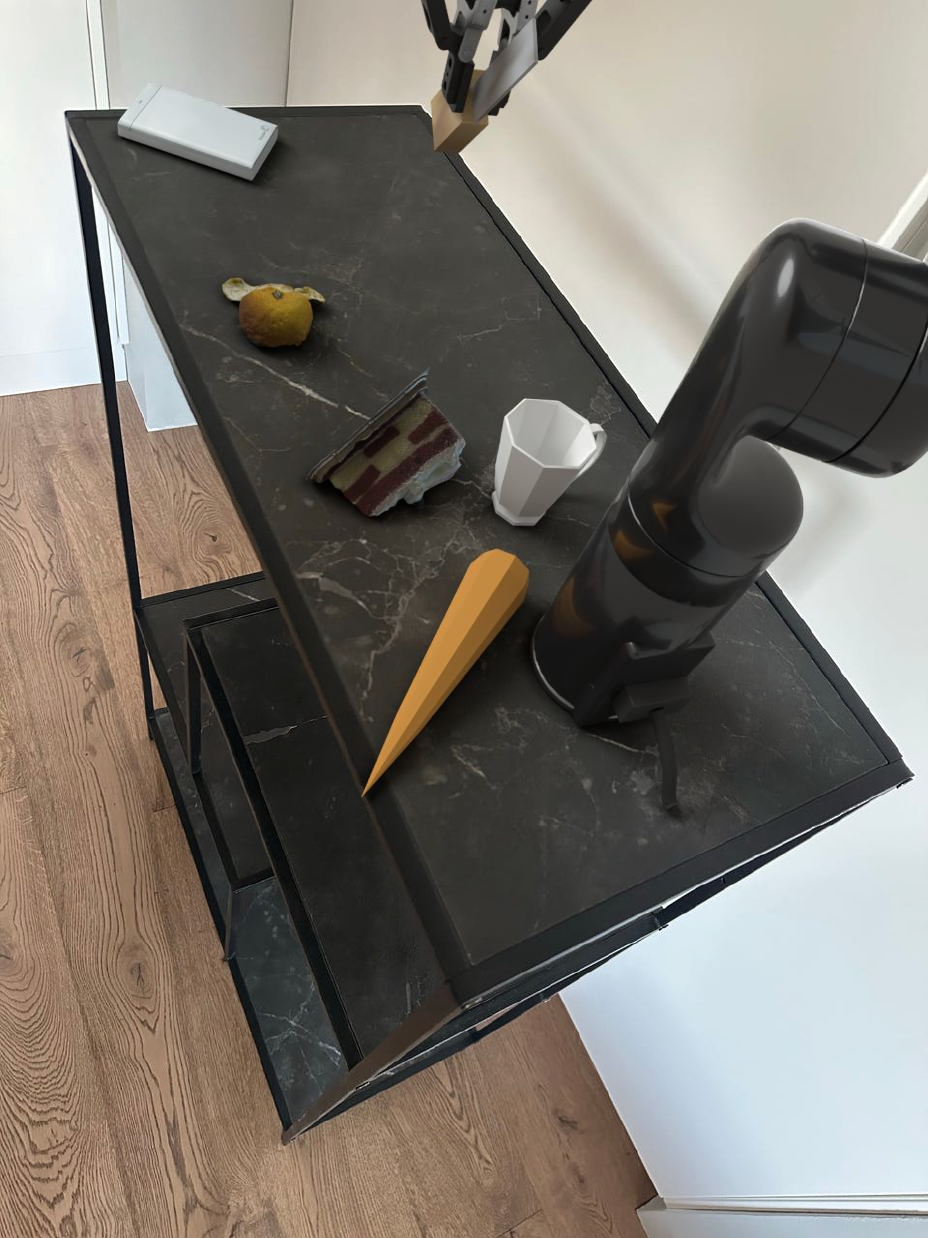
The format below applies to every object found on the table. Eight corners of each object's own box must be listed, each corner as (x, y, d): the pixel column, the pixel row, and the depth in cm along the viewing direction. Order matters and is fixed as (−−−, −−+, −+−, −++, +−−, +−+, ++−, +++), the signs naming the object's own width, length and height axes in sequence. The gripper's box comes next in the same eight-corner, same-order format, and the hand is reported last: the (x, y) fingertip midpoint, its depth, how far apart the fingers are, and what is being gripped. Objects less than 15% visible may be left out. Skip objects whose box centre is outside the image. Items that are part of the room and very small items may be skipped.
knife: (434, 151, 72) (430, 100, 71) (459, 153, 73) (456, 102, 72) (520, 60, 57) (517, -5, 56) (551, 64, 58) (548, -1, 57)
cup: (457, 484, 70) (485, 408, 63) (556, 451, 74) (592, 378, 68) (506, 552, 67) (540, 481, 61) (606, 514, 72) (647, 444, 65)
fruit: (321, 291, 77) (326, 255, 74) (328, 359, 73) (334, 323, 70) (221, 281, 75) (222, 242, 72) (222, 350, 71) (224, 312, 68)
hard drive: (278, 123, 87) (151, 77, 85) (252, 167, 82) (116, 119, 81) (277, 139, 88) (151, 95, 87) (251, 183, 83) (117, 137, 82)
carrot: (526, 541, 61) (547, 587, 64) (472, 536, 63) (494, 581, 66) (372, 786, 51) (405, 827, 54) (316, 768, 53) (350, 809, 56)
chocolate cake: (365, 553, 64) (490, 438, 62) (298, 478, 64) (421, 359, 61) (390, 539, 74) (500, 438, 71) (331, 474, 73) (440, 370, 71)
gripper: (622, -188, 57) (537, 87, 71) (416, -235, 52) (368, 71, 66) (669, -133, 54) (570, 144, 68) (453, -178, 49) (395, 131, 63)
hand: (470, 107), depth 67 cm, fingers closed on knife, 2 cm apart
